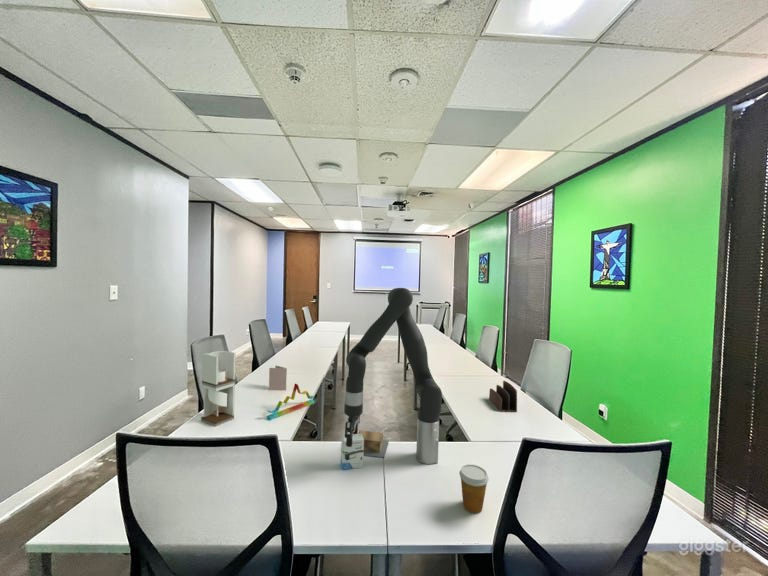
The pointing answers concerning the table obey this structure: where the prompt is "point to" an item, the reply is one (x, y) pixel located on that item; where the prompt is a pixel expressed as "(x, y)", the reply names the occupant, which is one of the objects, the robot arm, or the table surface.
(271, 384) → the greeting card
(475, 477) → the disposable coffee cup
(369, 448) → the open cardboard box
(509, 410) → the letter holder
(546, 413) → the table surface
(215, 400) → the tiered shelf stand
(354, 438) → the ink box
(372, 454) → the pad
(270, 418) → the chart
